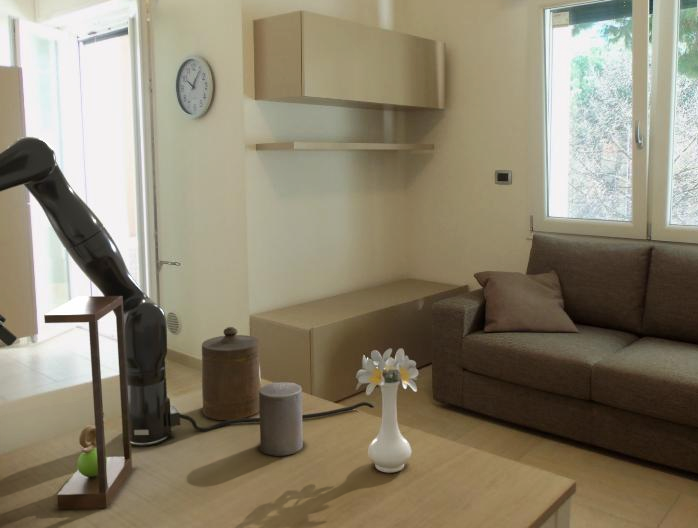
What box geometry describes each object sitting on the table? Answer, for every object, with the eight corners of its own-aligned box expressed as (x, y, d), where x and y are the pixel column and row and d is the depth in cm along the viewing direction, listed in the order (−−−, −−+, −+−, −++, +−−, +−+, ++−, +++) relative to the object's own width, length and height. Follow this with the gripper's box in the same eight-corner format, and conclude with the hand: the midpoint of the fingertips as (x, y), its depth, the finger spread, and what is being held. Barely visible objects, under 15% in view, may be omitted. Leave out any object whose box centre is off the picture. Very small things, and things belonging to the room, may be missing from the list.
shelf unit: (57, 509, 129) (44, 315, 124) (88, 470, 145) (77, 296, 140) (106, 508, 130) (94, 314, 125) (132, 469, 145) (122, 295, 141)
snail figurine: (117, 469, 139) (113, 412, 137) (93, 483, 133) (89, 424, 131) (95, 465, 141) (92, 409, 139) (71, 479, 135) (67, 420, 133)
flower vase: (419, 447, 155) (419, 340, 152) (417, 486, 137) (417, 365, 134) (362, 445, 157) (361, 339, 153) (352, 484, 138) (351, 364, 135)
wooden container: (272, 404, 182) (270, 323, 180) (238, 424, 169) (235, 337, 166) (226, 396, 188) (223, 318, 186) (190, 415, 175) (187, 331, 172)
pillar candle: (251, 452, 153) (249, 387, 152) (274, 435, 162) (273, 374, 160) (289, 459, 150) (288, 393, 148) (311, 441, 159) (309, 379, 157)
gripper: (-72, 285, 125) (-3, 345, 127) (-30, 271, 139) (32, 325, 142) (-100, 314, 126) (-30, 373, 128) (-55, 298, 140) (7, 351, 142)
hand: (3, 348), depth 135 cm, fingers open, 8 cm apart
